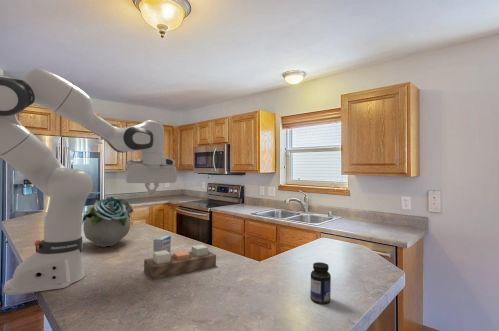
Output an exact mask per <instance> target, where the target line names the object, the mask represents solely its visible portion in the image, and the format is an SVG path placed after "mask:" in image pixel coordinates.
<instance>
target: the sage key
mask: <svg viewBox="0 0 499 331" xmlns="http://www.w3.org/2000/svg"><path fill="white" fill-rule="evenodd" d="M208 251H209V247H208V246H207V245H204V244H196V245H192V246H191V251H190V252H191V254H192V255H194V256H195V257H200V256H205V255H208Z"/></svg>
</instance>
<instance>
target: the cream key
mask: <svg viewBox="0 0 499 331" xmlns="http://www.w3.org/2000/svg"><path fill="white" fill-rule="evenodd" d="M171 255H172V254H171V252H170V253H169V252H168V251H166V250H165V251H158V252H153V251H152V258H153V262H154V263H155V264H162V263H167V262H170V260H171Z"/></svg>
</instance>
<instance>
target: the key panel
mask: <svg viewBox="0 0 499 331" xmlns="http://www.w3.org/2000/svg"><path fill="white" fill-rule="evenodd" d="M186 252H187V253H189V254H190V258H189V259H183V260H178V261H177V260H176V259H174V258H173V254H171V260H170V262H167V263H162V264H155V263H154V262H153V257H151V258H144V260H143V262H144V264H143V265H144V266H143V272H144V273H145V274H146V275H147V276H148V277H149V278H150V279H151V280H152V281H153V280H154V281H155V280H158V279H162V278H163V279H164V278H166V277H171V276H177V275H181V274H186V273H190V272H195V271H199V270H200V271H201V270H205V269H208V268H214V267H216V266H217V254H215V253H212V252H210V251H209V250H208V255H205V256H200V257H195V256H194V255H192V254H191V251H186Z"/></svg>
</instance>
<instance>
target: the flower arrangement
mask: <svg viewBox="0 0 499 331" xmlns="http://www.w3.org/2000/svg"><path fill="white" fill-rule="evenodd" d="M92 204H93V205H92V206H91V207H89V208H88V210H85V211H84V214H82V225H83V233H84V236H85V239H87V240H88V241H90V242H93V243H95V244H96V247H98V246H101V247H100V248H107V247H106V246H111V247H114V246H116V245H117V243H118V242H119V241H121V240H122V239H123V238H125V237H126V236H127V235H128V234H129V232H130V229H131V219H130V216H131V215H130V214H132V213H133V212H134V209H133V205H131V204H130V203H129V202H128V200H126V199H123V198H116V197H114V196H110V197H105V198H101V199H99V200H98V199H97V198H96V200H94V202H93V203H92ZM115 244H116V245H115ZM113 245H114V246H113Z"/></svg>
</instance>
